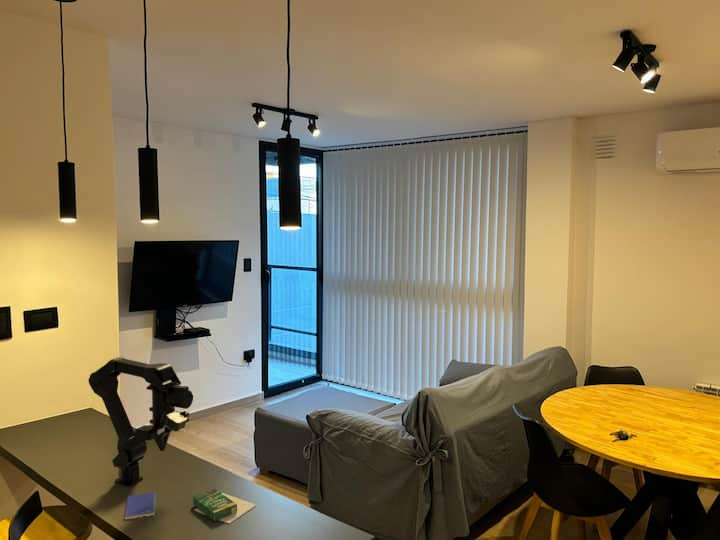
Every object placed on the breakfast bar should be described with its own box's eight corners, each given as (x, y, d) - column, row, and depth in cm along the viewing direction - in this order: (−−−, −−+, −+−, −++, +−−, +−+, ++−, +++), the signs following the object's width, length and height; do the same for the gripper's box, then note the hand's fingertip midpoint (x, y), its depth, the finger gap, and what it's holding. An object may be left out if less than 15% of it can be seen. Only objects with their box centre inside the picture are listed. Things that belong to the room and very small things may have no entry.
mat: (194, 510, 167) (194, 509, 167) (222, 493, 178) (222, 492, 178) (229, 524, 160) (229, 523, 160) (256, 505, 171) (256, 504, 171)
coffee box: (216, 487, 175) (237, 503, 166) (216, 496, 176) (237, 512, 166) (192, 495, 170) (213, 512, 160) (192, 504, 170) (213, 522, 161)
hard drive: (154, 511, 164) (155, 492, 176) (124, 516, 162) (127, 495, 173) (154, 517, 164) (155, 496, 176) (124, 521, 162) (127, 500, 173)
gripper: (161, 417, 166) (161, 467, 167) (200, 398, 183) (201, 444, 184) (132, 411, 170) (133, 460, 171) (173, 394, 187) (174, 438, 188)
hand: (162, 450), depth 179 cm, fingers closed
